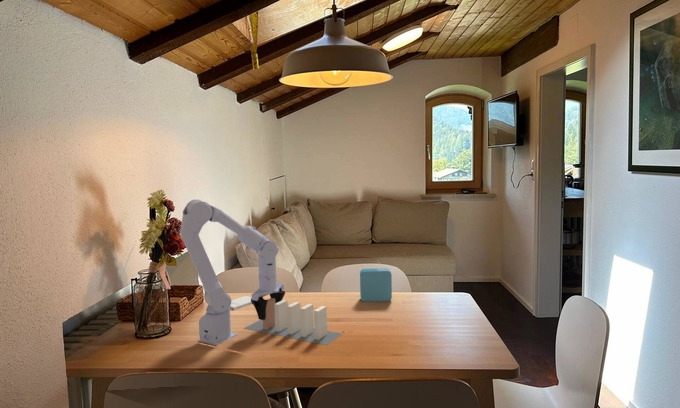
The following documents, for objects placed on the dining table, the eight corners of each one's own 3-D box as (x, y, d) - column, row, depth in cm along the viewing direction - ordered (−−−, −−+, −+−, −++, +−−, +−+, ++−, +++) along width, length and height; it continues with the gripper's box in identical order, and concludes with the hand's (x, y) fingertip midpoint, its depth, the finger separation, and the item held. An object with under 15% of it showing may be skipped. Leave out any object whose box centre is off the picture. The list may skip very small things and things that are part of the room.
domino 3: (292, 334, 149) (291, 306, 148) (287, 333, 150) (287, 306, 149) (300, 329, 154) (300, 302, 153) (296, 328, 154) (295, 301, 154)
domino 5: (318, 339, 144) (318, 311, 144) (314, 339, 145) (313, 310, 144) (327, 334, 149) (326, 306, 148) (322, 333, 150) (322, 305, 149)
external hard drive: (259, 302, 186) (234, 311, 176) (245, 299, 191) (220, 307, 182) (258, 298, 186) (234, 307, 176) (245, 295, 191) (220, 303, 181)
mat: (326, 346, 140) (326, 345, 140) (243, 329, 156) (243, 328, 156) (342, 335, 149) (342, 333, 149) (262, 320, 164) (262, 318, 164)
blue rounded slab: (390, 297, 187) (390, 268, 186) (391, 301, 183) (391, 270, 181) (360, 298, 187) (359, 268, 186) (360, 301, 183) (360, 271, 182)
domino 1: (266, 329, 154) (265, 302, 153) (263, 328, 155) (262, 302, 154) (276, 324, 158) (275, 298, 158) (272, 323, 159) (271, 297, 158)
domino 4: (305, 337, 147) (304, 309, 146) (301, 336, 148) (300, 308, 147) (313, 331, 151) (313, 304, 150) (309, 331, 152) (308, 303, 151)
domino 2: (279, 332, 152) (278, 304, 151) (275, 331, 152) (274, 304, 152) (288, 326, 156) (287, 300, 155) (284, 326, 157) (283, 299, 156)
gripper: (263, 282, 147) (265, 324, 148) (290, 271, 159) (291, 311, 161) (245, 279, 150) (247, 321, 152) (273, 269, 163) (274, 308, 164)
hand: (269, 315), depth 156 cm, fingers open, 7 cm apart
